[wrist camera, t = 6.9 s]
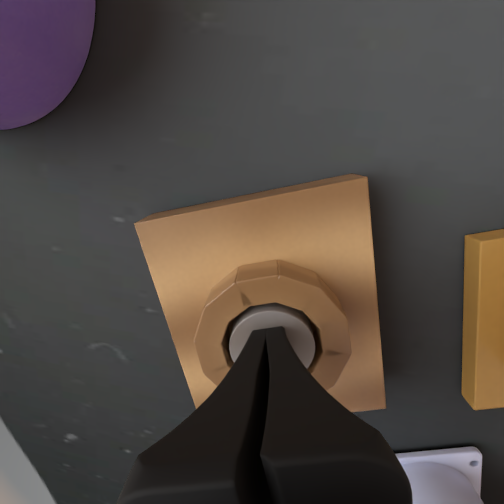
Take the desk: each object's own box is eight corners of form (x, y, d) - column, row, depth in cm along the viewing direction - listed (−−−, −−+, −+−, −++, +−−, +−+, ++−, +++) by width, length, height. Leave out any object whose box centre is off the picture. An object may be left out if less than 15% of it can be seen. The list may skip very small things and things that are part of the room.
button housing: (372, 378, 17) (401, 440, 14) (210, 398, 18) (195, 461, 15) (352, 173, 14) (385, 180, 10) (152, 213, 15) (112, 234, 11)
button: (314, 352, 14) (320, 378, 13) (242, 361, 15) (239, 388, 13) (303, 285, 13) (309, 304, 11) (226, 298, 14) (220, 318, 12)
